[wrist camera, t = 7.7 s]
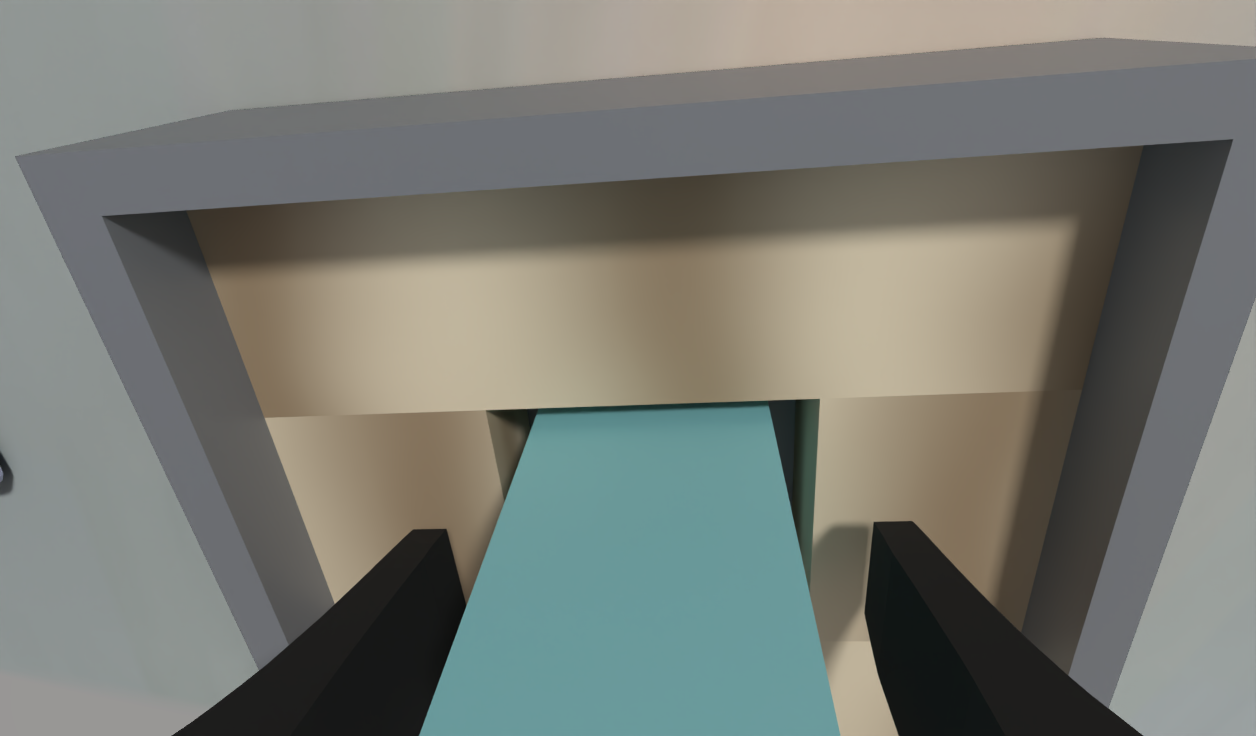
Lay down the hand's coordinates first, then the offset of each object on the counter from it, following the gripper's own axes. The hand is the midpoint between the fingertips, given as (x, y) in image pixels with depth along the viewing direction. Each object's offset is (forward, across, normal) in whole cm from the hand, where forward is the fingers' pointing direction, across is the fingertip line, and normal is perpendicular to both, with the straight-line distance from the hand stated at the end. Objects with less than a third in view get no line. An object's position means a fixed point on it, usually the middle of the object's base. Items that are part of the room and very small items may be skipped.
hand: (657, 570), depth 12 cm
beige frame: (+4, 0, 0) cm, 4 cm away
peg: (+3, 0, 0) cm, 3 cm away
